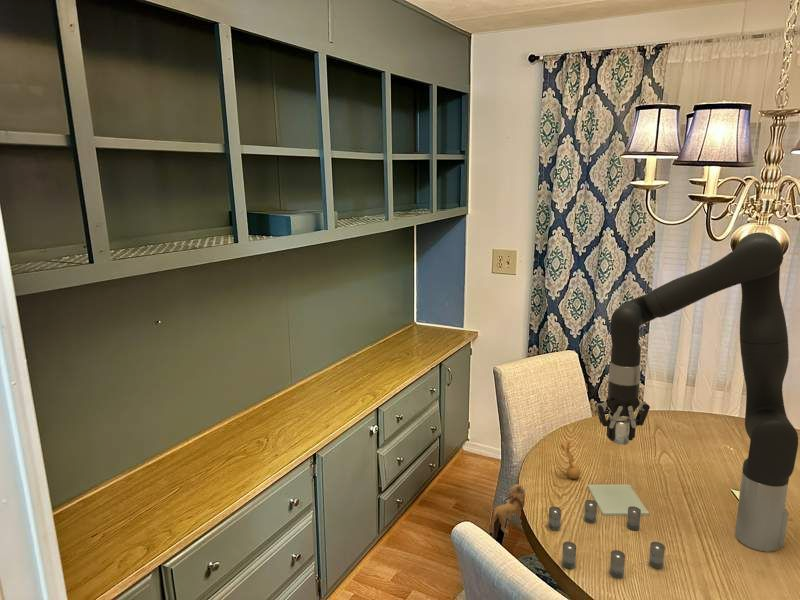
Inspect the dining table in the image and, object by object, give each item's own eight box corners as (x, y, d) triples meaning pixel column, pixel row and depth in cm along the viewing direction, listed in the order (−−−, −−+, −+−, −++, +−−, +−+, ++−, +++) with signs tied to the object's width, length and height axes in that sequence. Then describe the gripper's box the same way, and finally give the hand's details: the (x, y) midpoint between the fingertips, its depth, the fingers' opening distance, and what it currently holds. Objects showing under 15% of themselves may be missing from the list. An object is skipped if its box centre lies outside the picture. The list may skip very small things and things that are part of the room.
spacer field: (632, 516, 145) (633, 499, 144) (671, 578, 122) (673, 559, 121) (544, 516, 146) (545, 499, 145) (567, 578, 123) (568, 558, 122)
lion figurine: (511, 508, 150) (511, 478, 148) (529, 515, 146) (530, 485, 144) (483, 535, 139) (483, 504, 137) (502, 544, 135) (502, 511, 133)
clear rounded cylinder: (625, 436, 149) (626, 416, 147) (631, 444, 144) (633, 423, 143) (608, 437, 149) (610, 416, 148) (614, 445, 145) (616, 423, 143)
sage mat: (629, 486, 159) (629, 484, 158) (648, 515, 145) (649, 513, 145) (587, 486, 159) (587, 484, 159) (603, 515, 145) (603, 513, 145)
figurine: (581, 485, 159) (583, 448, 157) (560, 483, 161) (561, 446, 158) (578, 471, 167) (580, 435, 165) (558, 469, 169) (559, 433, 166)
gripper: (645, 373, 146) (641, 432, 150) (591, 374, 147) (588, 433, 150) (658, 383, 139) (653, 445, 143) (601, 385, 139) (598, 446, 143)
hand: (620, 439), depth 147 cm, fingers closed on clear rounded cylinder, 4 cm apart
